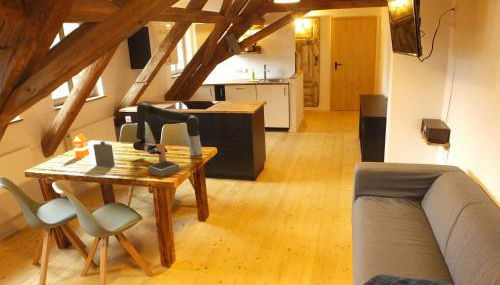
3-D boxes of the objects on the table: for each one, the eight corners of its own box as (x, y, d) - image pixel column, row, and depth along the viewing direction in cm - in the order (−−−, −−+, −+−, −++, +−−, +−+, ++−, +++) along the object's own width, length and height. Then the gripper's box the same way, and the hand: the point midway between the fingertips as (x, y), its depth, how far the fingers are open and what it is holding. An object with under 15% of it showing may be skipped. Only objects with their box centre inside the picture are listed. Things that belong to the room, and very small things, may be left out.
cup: (163, 160, 296) (161, 143, 292) (167, 162, 293) (165, 144, 288) (157, 162, 292) (155, 144, 288) (162, 164, 289) (160, 145, 284)
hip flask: (95, 165, 294) (91, 142, 289) (98, 164, 298) (95, 140, 293) (113, 166, 291) (109, 142, 285) (116, 165, 295) (112, 141, 289)
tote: (166, 166, 287) (165, 160, 286) (179, 170, 277) (178, 164, 275) (148, 172, 275) (147, 166, 274) (161, 176, 265) (160, 170, 264)
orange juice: (89, 154, 326) (85, 132, 320) (84, 157, 317) (80, 135, 312) (81, 154, 326) (77, 132, 321) (75, 157, 318) (71, 135, 312)
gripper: (142, 146, 293) (155, 150, 282) (157, 142, 303) (170, 145, 292) (144, 155, 295) (156, 159, 284) (158, 150, 305) (171, 154, 294)
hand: (163, 152), depth 288 cm, fingers closed on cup, 5 cm apart
